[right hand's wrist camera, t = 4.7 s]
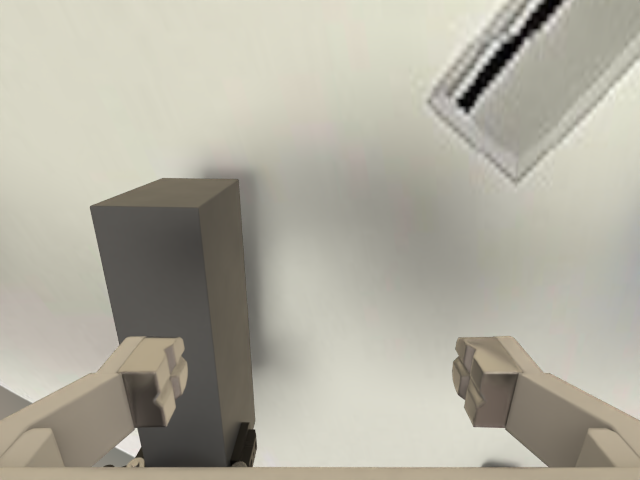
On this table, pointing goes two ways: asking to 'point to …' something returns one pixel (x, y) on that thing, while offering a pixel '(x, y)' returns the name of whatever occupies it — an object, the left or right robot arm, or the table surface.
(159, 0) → the table surface
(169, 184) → the box
